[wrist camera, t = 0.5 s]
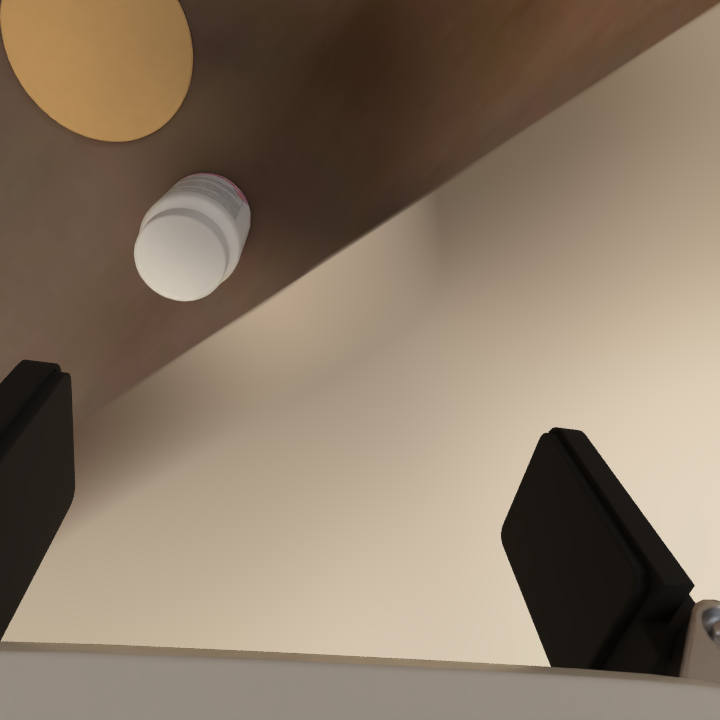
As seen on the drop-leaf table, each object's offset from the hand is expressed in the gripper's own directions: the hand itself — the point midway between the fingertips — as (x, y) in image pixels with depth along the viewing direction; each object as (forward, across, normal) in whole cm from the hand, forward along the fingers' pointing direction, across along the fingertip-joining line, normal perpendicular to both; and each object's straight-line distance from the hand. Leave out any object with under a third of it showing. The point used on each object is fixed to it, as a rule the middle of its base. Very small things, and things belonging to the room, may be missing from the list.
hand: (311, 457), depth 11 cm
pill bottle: (+24, +5, +2) cm, 25 cm away
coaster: (+24, +11, -5) cm, 27 cm away
